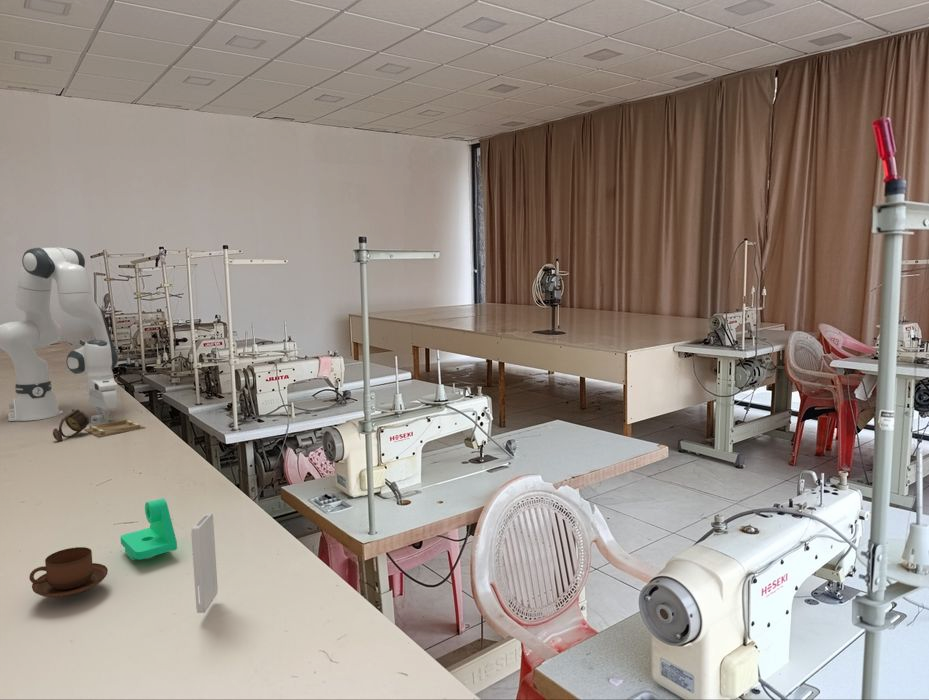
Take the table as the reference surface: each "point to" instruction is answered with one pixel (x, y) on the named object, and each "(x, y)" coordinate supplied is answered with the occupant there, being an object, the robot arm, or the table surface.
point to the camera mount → (152, 533)
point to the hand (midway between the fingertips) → (103, 418)
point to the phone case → (204, 562)
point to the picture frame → (113, 428)
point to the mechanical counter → (72, 423)
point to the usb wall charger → (99, 419)
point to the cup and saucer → (68, 573)
